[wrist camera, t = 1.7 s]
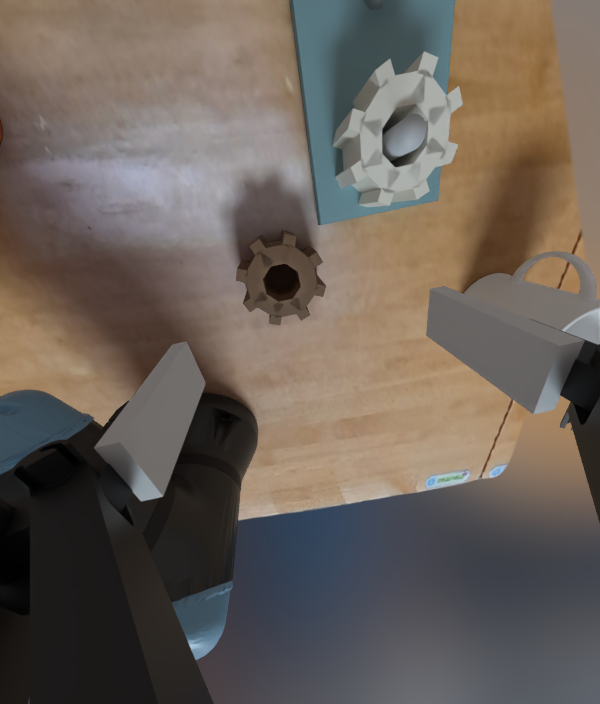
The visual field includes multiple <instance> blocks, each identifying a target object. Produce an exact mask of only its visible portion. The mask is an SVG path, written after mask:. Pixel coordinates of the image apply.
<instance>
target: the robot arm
mask: <svg viewBox="0 0 600 704" xmlns="http://www.w3.org/2000/svg"><path fill="white" fill-rule="evenodd" d="M426 335H427V336H428V337H429V338H431V339H432V340H433V341H435V342H436V343H437V344H439V345H440V346H441V347H443V348H444V349H446V350H447V351H448V352H450V353H451V354H452V355H454V356H455V357H456V358H458V359H459V360H460V361H462V362H463V363H464V364H466V365H467V366H469V367H470V368H471V369H473V370H474V371H475V372H477V373H478V374H479V375H481V376H482V377H483V378H485V379H486V380H488V381H489V382H490V383H492V384H493V385H494V386H496V387H497V388H498V389H500V390H501V391H502V392H504V393H505V394H506V395H508V396H509V397H511V398H512V399H513V400H515V401H516V402H517V403H519V404H520V405H521V406H523V407H524V408H525V409H527V410H528V411H530V412H531V413H532V414H536V413H541V412H545V411H550V410H554V409H555V407H556V405H557V402H558V400H559V398H560V395H561V396H563V397H564V398H566V399H568V400H569V401H571V402H570V404H569V407H568V409H567V411H566V413H565V415H564V417H563V419H562V421H561V424H560V427H561V428H565V426H566V424H567V423H569V422H571V425H572V428H571V430H573V432H574V435H575V439H576V442H577V446H578V449H579V453H580V456H581V460H582V463H583V467H584V470H585V474H586V477H587V481H588V484H589V488H590V491H591V495H592V498H593V501H594V505H595V509H596V512H597V515H598V518H599V522H600V344H599V345H598V344H595V343H592V342H590V341H587V340H585V339H582V338H579V337H577V336H574V335H571V334H569V333H566V332H564V331H561V330H557V329H556V328H553V327H551V326H546V325H545V324H543V323H540V322H538V321H535V320H532V319H528V318H525V317H523V316H520V315H518V314H515V313H512V312H510V311H507V310H505V309H502V308H500V307H497V306H494V305H492V304H489V303H487V302H484V301H481V300H479V299H476V298H474V297H471V296H468V295H466V294H463V293H461V292H458V291H455V290H453V289H450V288H448V287H445V286H442V287H438V288H433V289H430V296H429V308H428V320H427V333H426ZM205 384H206V382H205V380H204V378H203V376H202V374H201V372H200V369H199V367H198V365H197V363H196V361H195V359H194V356H193V354H192V352H191V350H190V348H189V346H188V343H187V341H186V342H181V343H176V344H172V345H171V347H170V348H169V349H168V351H167V352H166V353H165V355H164V356H163V357H162V358H161V360H160V361H159V362H158V364H157V365H156V366H155V368H154V369H153V370H152V372H151V373H150V374H149V376H148V377H147V378H146V380H145V381H144V382H143V384H142V385H141V386H140V388H139V389H138V390H137V392H136V393H135V394H134V396H133V397H132V398H131V399H130V401H127V402H126V403H125V404H124V405H122V406H121V407H120V408H119V409H118V410H116V412H115V413H114V414H113V415H112V417H111V418H110V419H109V422H107V423H106V424H105V426H104V427H103V426H101V425H100V424H98V423H97V422H95V421H94V420H93V419H94V418H93V417H92V416H90V414H86V413H81V412H79V411H78V410H76V409H74V408H72V407H71V406H69V405H67V404H66V403H64V402H62V401H61V400H59V399H57V398H56V397H54V396H52V395H51V394H48V393H46V392H43V391H39V390H19V391H14V392H10V393H7V394H5V395H3V396H0V704H28V701H29V696H30V704H214V703H213V701H212V698H211V696H210V693H209V691H208V688H207V686H206V684H205V681H204V679H203V677H202V674H201V672H200V669H199V667H198V665H197V662H196V660H197V659H199V658H201V657H203V656H204V655H206V654H207V653H208V652H209V651H211V650H212V649H213V647H214V646H215V645H216V643H217V642H218V640H219V638H220V636H221V635H222V632H223V629H224V626H225V620H226V614H227V608H228V601H229V594H230V590H231V589H232V587H233V581H232V579H233V568H234V557H235V546H236V534H237V523H238V513H239V502H240V490H241V482H242V479H243V477H244V475H245V473H246V471H247V468H248V466H249V464H250V462H251V460H252V457H253V455H254V453H255V451H256V447H257V441H258V426H257V423H256V420H255V418H254V417H253V415H252V414H251V412H250V411H249V410H248V409H247V408H246V407H244V406H243V405H242V404H240V403H238V402H237V401H235V400H233V399H230V398H228V397H225V396H221V395H216V394H207V393H202V392H203V389H204V387H205Z"/></svg>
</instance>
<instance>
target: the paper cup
mask: <svg viewBox="0 0 600 704" xmlns="http://www.w3.org/2000/svg"><path fill="white" fill-rule="evenodd" d="M2 136H3V131H2V124H1V120H0V144H1V141H2Z"/></svg>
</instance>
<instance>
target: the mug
mask: <svg viewBox="0 0 600 704" xmlns="http://www.w3.org/2000/svg"><path fill="white" fill-rule="evenodd" d="M547 257H559V258H562V259H565V260H566V261H568V262H569V263H571V264H572V265H573V266H574V267H575V269H576V270H577V272H578V274H579V277H580V291H579V294H575V293H571V292H567V291H563V290H559V289H555V288H551V287H547V286H544V285H540V284H536V283H532V282H528V281H524V280H523V277H524V275H525V273H526V272H527V270H528V269H529V268H530V267H531V266H532V265H533V264H534V263H536V262H537V261H539V260H541V259H544V258H547ZM464 294H466V295H468V296H471V297H474V298H476V299H479V300H481V301H484V302H487V303H489V304H492V305H494V306H497V307H500V308H502V309H505V310H507V311H510V312H512V313H515V314H518V315H520V316H523V317H525V318H528V319H532V320H535V321H538V322H540V323H543V324H545V325H546V326H551V327H553V328H556V329H557V330H561V331H564V332H566V333H569V334H571V335H574V336H577V337H579V338H582V339H585V340H587V341H590V342H592V343H595V344H598V345H599V344H600V300H599V299H597V298H596V281H595V277H594V274H593V273H592V270H591V269H590V267H589V266H588V265H587V264H586V263H585V262H584V261H583V260H582V259H581V258H579V257H577V256H575V255H573V254H570V253H567V252H560V251H553V252H545V253H541V254H538V255H536V256H533V257H531V258H530V259H528V260H527V261H525V262H524V263H523V264H521V265H520V266H519V267H518V269H517V270H516V271H515V272H514V274H513V276H511V275H509V274H505V273H494V274H490V275H487V276H485V277H483V278H481V279H479V280H477V281H476V282H475V283H473V284H472V285H471V286H470V287H469V288H468V289H467V290H466V291H465V292H464Z"/></svg>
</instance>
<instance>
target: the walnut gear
mask: <svg viewBox="0 0 600 704" xmlns="http://www.w3.org/2000/svg"><path fill="white" fill-rule="evenodd" d="M296 238H297V236H295V235H294V234H293V233H289V232H285V231H282V234H281V240H278V241H274V242H269V243H266V242H265V240H264V239H263V237H262V236H259V237H258V238H257V239H255V240H254V241H253V242H252V243H251V245H250V246H249V247H250V248H251V250H252V251H253V253H254V254H255V255H254V257H253V259H252V261H251V262H249V261H244V260H242V262H241V263H240V265H239V266H238V268H237V275H236V281H241V282H246V285H247V288H248V290H247V292H246V295H245V299H244V302H243V304H244V305H245V307H246V308H247V309H248V310H249V311H250V312H251V311H253V310H254V309H256V308H257V307H258V308H260V309H261V310H263V311H265V312H266V313H268V314H270V324H276V325H280V323H281V318H282V317H284V316H288V315H293V314H297V315H298V317H299V318H300V320H303V319H304V318H306V317H308V316H309V315H310V313H309V311H308V308H307V305H308V304H309V302H310V301H311V299H312V298H313V296H314V295H316V296H321V297H323V295H324V292H325V288H326V285H325V284H324V283H323V282H322V280H321V279H320V278H319V277H318V275H316V273H315V267H317V266H318V265H320V264H321V263H323V262H322V260H321V258H320V256H319V255H318V253H317V251H315V250H314V249H313V248H311V247H310V246H309V247H307V248H306V249H304V250H303V251H302V250H300V249H299V248H298V247H296V246H295V243H296ZM285 263H286V264H287V265H289V266H290V267H291V268H293V269H294V270H295V273H296V277H295V278H294V280H293V281H292V283H291V284H290V286H289V287H284V288H279V289H277V288H275V287H274V286H272V285H271V284H269V283H267V280H266V276H265V275H266V273H267V272H268V270H269V268H270V267H271V266H276V265H281V264H285Z"/></svg>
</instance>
